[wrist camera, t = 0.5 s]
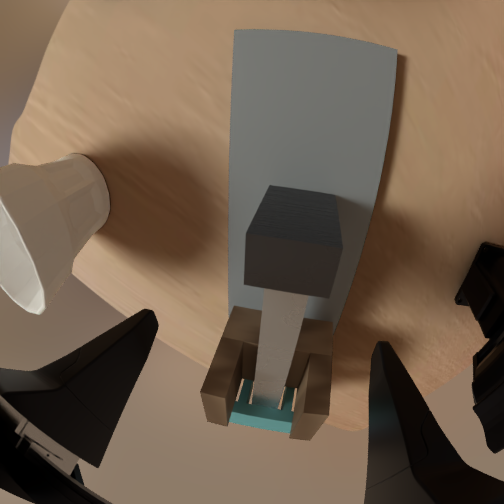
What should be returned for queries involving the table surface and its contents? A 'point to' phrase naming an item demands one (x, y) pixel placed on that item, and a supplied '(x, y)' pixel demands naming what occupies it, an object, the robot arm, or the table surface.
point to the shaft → (288, 275)
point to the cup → (47, 225)
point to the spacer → (263, 411)
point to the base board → (307, 140)
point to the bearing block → (244, 366)
